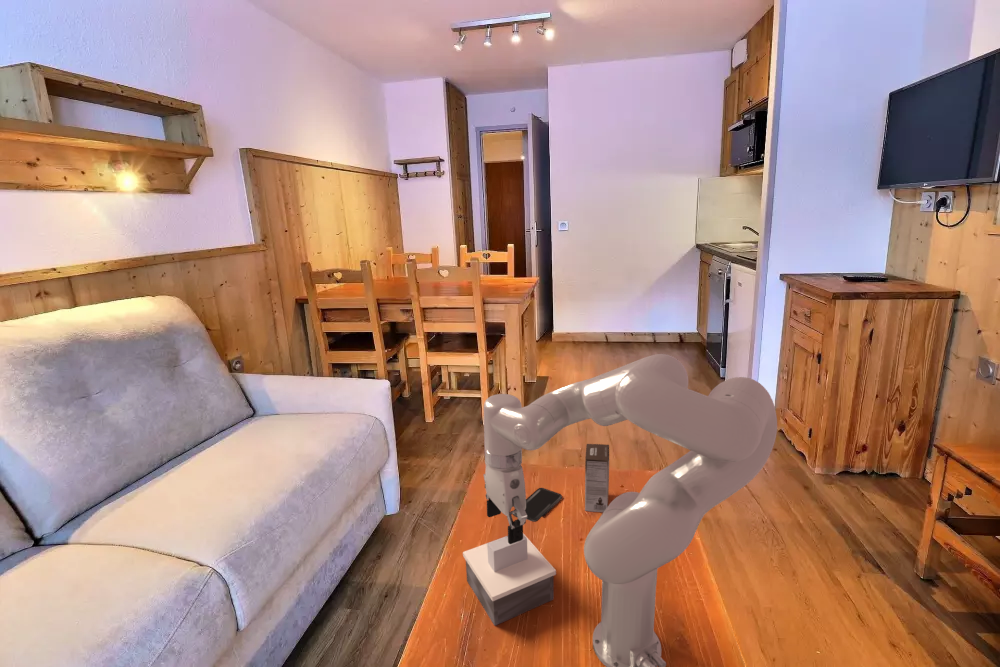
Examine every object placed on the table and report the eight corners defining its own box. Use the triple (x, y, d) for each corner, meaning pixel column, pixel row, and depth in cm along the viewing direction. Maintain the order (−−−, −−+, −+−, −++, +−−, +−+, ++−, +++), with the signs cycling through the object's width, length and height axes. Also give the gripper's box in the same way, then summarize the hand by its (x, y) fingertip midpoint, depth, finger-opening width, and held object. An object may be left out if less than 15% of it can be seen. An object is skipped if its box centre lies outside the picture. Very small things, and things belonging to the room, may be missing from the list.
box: (553, 601, 105) (553, 573, 103) (494, 628, 99) (493, 599, 97) (521, 561, 117) (520, 535, 115) (467, 582, 111) (465, 556, 109)
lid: (555, 574, 103) (555, 549, 101) (492, 601, 96) (491, 575, 95) (521, 534, 116) (520, 512, 114) (463, 556, 109) (461, 532, 108)
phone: (511, 512, 134) (540, 486, 146) (511, 516, 135) (540, 490, 146) (535, 522, 130) (563, 494, 141) (535, 526, 130) (563, 498, 142)
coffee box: (585, 492, 143) (586, 442, 139) (608, 494, 142) (609, 444, 138) (584, 511, 135) (585, 458, 131) (608, 513, 133) (609, 460, 129)
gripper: (541, 470, 94) (541, 546, 98) (500, 433, 109) (501, 501, 113) (506, 481, 90) (507, 559, 95) (469, 441, 105) (471, 510, 110)
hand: (504, 527), depth 104 cm, fingers open, 9 cm apart
